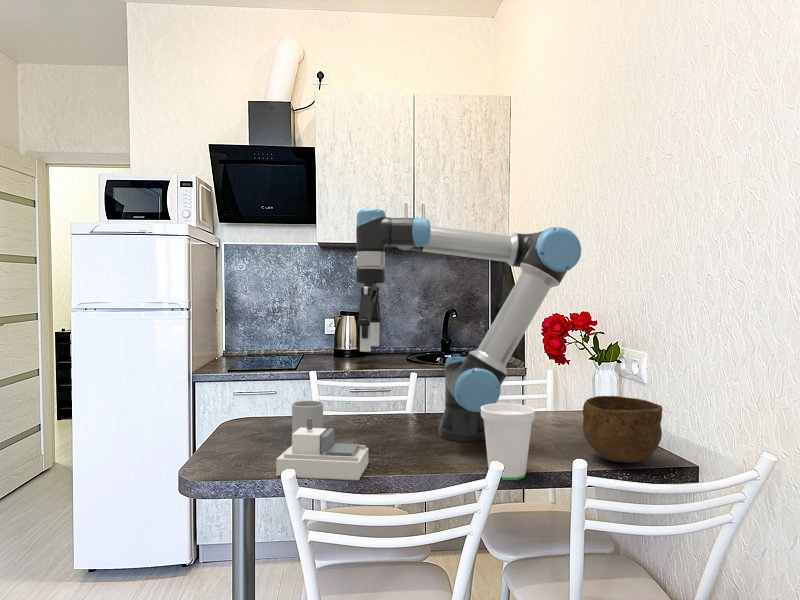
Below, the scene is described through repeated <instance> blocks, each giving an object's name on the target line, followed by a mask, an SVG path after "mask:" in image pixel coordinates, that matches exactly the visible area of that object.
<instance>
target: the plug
mask: <svg viewBox="0 0 800 600" xmlns="http://www.w3.org/2000/svg"><path fill="white" fill-rule="evenodd" d="M327 430H328V428H324V427H323V428H313V420H312V418H308V419H307V428H299V429H298V430H297V431H295V432H294V433H293V434H292V433H291V446H292V454H307V455H322V454H323V452H321V436H322V435H323V434H324V433H325V432H326V431H327Z"/></svg>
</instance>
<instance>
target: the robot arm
mask: <svg viewBox="0 0 800 600" xmlns="http://www.w3.org/2000/svg"><path fill="white" fill-rule="evenodd" d="M355 228H356V230H355V231H356V234H355V235H356V239H355V240H356V243H355V244H356V255H354V260H356V267H357V268H358V269H356V270H355V271H356V272H355V273H356V274H355V275H356V276H355V277H356V278H355V281H356V283H357V284H363V286H361V288H360V299H359V300H360V301H359V302H360V303H359V313H358V320H357V321H356V326H359V352H363V353H365V352H366V353H367V352H369V353H371V352H372V347H380V324H381V323H383V318H382V315H381V302H380V287H379V286H377V284H384V283H385V280H386V279H385V278H386V277H385V276H386V275H385V272H386V271H385V269H383V268H385V266H386V252H385V251H386V249H385V247H396V248H397V249H398V250H400V251H416V252H423V253H424V252H426V253H432V254H439V255H449V256H455V257H465V258H472V259H473V258H474V259H481V260H487V261H488V260H491V261H496V262H497V261H498V262H504V263H505V262H506V263H507V264H508V265H509V266H510V267H515V268H520V269H521V274H520V275H519V277H518V278H517V280H516V282H515V284H514V286H513V287H512V289H511V290H510V293H509V294H508V296H507V297H506V299H505V301H504V303H503V304H502V306H501V308H500V309H499V311H498V313H497V315H496V317H495V319H494V321H492V323H491V325H490V327H489V329H488V330H487V332H486V334H484V335H485V336H484V338H483V339H482V340H481V343H480V344H479V346H478V348H477V349H475V350H471V351H469V352H468V354H467V356H449V357H447V358H446V360H445V364H444V369H445V378H444V379H445V389H444V390H445V391H444V398H445V399H444V400H445V401H444V403H445V404H444V411H443V414H442V417H441V420H440V422H439V426H438V435H439V437H441V438H443V439H444V440H445V439H446V440H449V441H455V442H468V443H473V442H481V441H486V439H485V428H484V420H483V418H482V417H481V406H484V405H487V404H496V403H498V401H499V399H500V395H501V386H502V384H503V382H504V381H505V379H506V378H507V376H508V372H507V371H508V370H507V364H508V363H509V361H510V359H511V357H512V356H513V353H514V352H515V350H516V348H517V347H518V346H519V343H520V341H521V340H522V338H523V336H524V334H525V332H526V331H527V330H528V327H529V326H530V324H531V322H532V321H533V319H534V318H535V315H536V314H537V312H538V310H539V309H540V308H541V305H542V304H543V301H545V298H546V296H547V295H548V293H549V291H550V289H552V288H554V287H557V286H560V284H561V282H562V281H563V280H564V277H565V275H566V274H567V273H568V271H570V270H571V269H573V268H574V267H575V266H576V265H577V264H578V262H579V261H580V258H581V256H582V245H581V241H580V239H579V237H578V236H577V235H576V234H575V232H573V231H572V230H570V229H568V228H566V227H560V226H551V227H549V228H546V229H544V230H542V231H537V232H531V233H517V232H514V233H513V234H512V235H507V234H505V235H504V234H495V233H488V232H479V231H473V230H472V231H471V230H463V229H457V228H456V229H455V228H449V227H448V228H447V227H439V226H434V225H433V226H431V222H430V220H429V218H426V217H425V218H424V217H389V216H387V215H386V211H385V210H384V209H379V208H363V209H360V210H358V212H357V215H356V227H355Z"/></svg>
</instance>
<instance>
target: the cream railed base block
mask: <svg viewBox="0 0 800 600" xmlns="http://www.w3.org/2000/svg"><path fill="white" fill-rule="evenodd" d="M275 463H276V464H275V465H276V466H275V468H276V471H275V473H276V477H278V475H279V476H280V473H281V472H282V471H284V470H286V469H294V470H295V471H296V475H297V477H296V478H303V479H320V480H321V479H323V480H345V481H360V479H361V478H360V477H362V476H363V474H364V472H365V471H366V469H367V467H368V466H369V447H367V446H366V445H364V444H359V449H358V451H357V452H356V454H355V455H354V456H330V455H326V452H323V454H322V455H307V454H292V445H290V446H289V447H288V448H287V449H286V450H285V451H283V452H282V453H281V454H280V455H279V456H278V457H277V458H276V462H275ZM367 465H368V466H367ZM365 468H366V469H365ZM364 470H365V471H364ZM362 473H363V474H362ZM361 475H362V476H361Z"/></svg>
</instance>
